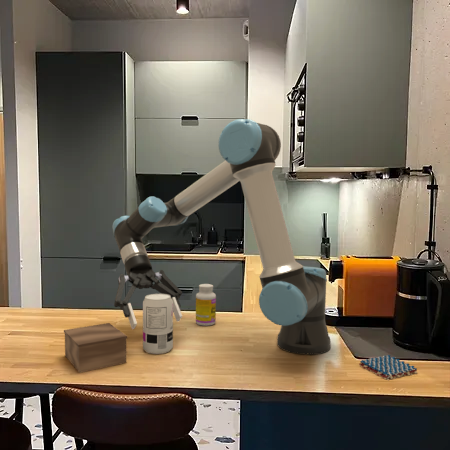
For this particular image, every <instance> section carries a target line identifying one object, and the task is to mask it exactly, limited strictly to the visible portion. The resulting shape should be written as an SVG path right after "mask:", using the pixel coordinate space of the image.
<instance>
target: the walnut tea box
mask: <svg viewBox="0 0 450 450" xmlns="http://www.w3.org/2000/svg"><path fill="white" fill-rule="evenodd" d="M63 333H64V356H65V358H66V359H67V360H68V361H69V363H71V364H72V366H73V367H74V368H75V370H76V371H77V372H79V373H85V372H88V371H93V370H98V369H103V368H108V367H112V366H118V365H121V364H126V363H127V340H128V336H127V334H125V333H124V332H123V331H121V330H119V328H117V327H116V326H114V325H113V324H112V323H110V322H108V323H107V322H106V323H101V324H94V325H89V326H81V327H75V328H74V327H73V328H69V329H64V330H63Z"/></svg>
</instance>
